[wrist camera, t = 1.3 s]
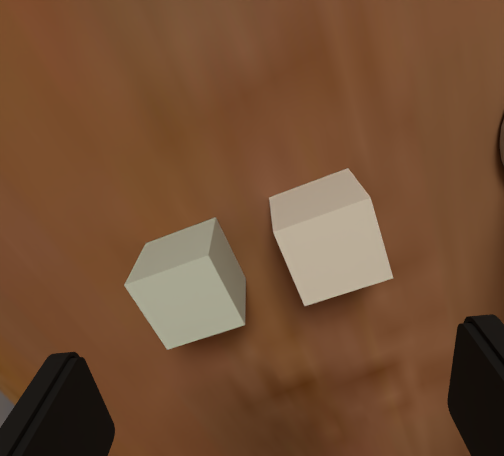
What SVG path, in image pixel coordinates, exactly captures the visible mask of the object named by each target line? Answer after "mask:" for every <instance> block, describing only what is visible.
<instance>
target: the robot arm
mask: <svg viewBox="0 0 504 456" xmlns="http://www.w3.org/2000/svg"><path fill="white" fill-rule="evenodd" d="M500 153H501V160H502V163H503V166H504V119H503V123H502V126H501V134H500ZM448 408H449V411H450V414H451V416H452V419H453V420H454V422H455V424H456V426H457V428H458V430H459V432H460V434H461V436H462V438H463V440H464V442H465V444H466V446H467V448H468V450H469V452H470V454H471V456H504V324H503V323H502V322H501V321H500V319H499V318H498V317H496V316H495V315H493V314H492V315H481V316H470V317H466V319H465V321H464V323H462V324H459V325H458V328H457V335H456V342H455V349H454V356H453V364H452V371H451V378H450V385H449V393H448ZM114 434H115V427H114V423H113V421H112V419H111V416H110V414H109V412H108V410H107V408H106V405H105V403H104V401H103V399H102V396H101V394H100V392H99V390H98V388H97V385H96V383H95V381H94V379H93V376H92V374H91V372H90V370H89V367H88V365H87V363H86V361H85V359H84V358H83V357H79V355H78V354H77V353H76V352H68V353H57V354H51V355H50V356H49V357H48V358H47V359H46V360H45V362H44V363H43V365H42V366H41V368H40V369H39V371H38V372H37V374H36V375H35V377H34V378H33V380H32V381H31V383H30V384H29V386H28V387H27V389H26V390H25V392H24V393H23V395H22V396H21V398H20V399H19V401H18V402H17V404H16V405H15V407H14V408H13V410H12V411H11V413H10V414H9V416H8V417H7V419H6V420H5V422H4V423H3V425H2V426H1V428H0V456H108V453H109V450H110V448H111V445H112V442H113V439H114Z"/></svg>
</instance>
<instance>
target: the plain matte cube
mask: <svg viewBox="0 0 504 456" xmlns="http://www.w3.org/2000/svg"><path fill="white" fill-rule="evenodd" d="M124 286H125V287H126V289H127V290H128V292H129V293H130V295H131V296H132V298H133V299H134V301H135V302H136V304H137V305H138V307H139V308H140V310H141V311H142V313H143V314H144V316H145V317H146V319H147V320H148V322H149V323H150V325H151V326H152V328H153V329H154V331H155V332H156V334H157V335H158V337H159V338H160V340H161V341H162V343H163V344H164V346H165V347H166V348H167V350H168V349H171V348H174V347H177V346H181V345H184V344H187V343H190V342H193V341H196V340H199V339H203V338H206V337H209V336H212V335H215V334H218V333H222V332H225V331H228V330H231V329H234V328H237V327H240V326H244V325H245V302H246V278H245V276H244V274H243V272H242V270H241V268H240V266H239V264H238V262H237V259H236V257H235V255H234V253H233V251H232V249H231V247H230V245H229V243H228V241H227V239H226V237H225V235H224V233H223V231H222V229H221V227H220V225H219V223H218V221H217V219H216V217H215V218H212V219H210V220H207V221H204V222H202V223H199V224H196V225H194V226H191V227H188V228H186V229H183V230H180V231H178V232H175V233H172V234H170V235H167V236H164V237H162V238H159V239H156V240H153V241H151V242H148V243H146V244H145V246H144V248H143V250H142V252H141V254H140V255H139V257H138V259H137V261H136V263H135V265H134V267H133V269H132V271H131V273H130V275H129V277H128V279H127V281H126V283H125V285H124Z"/></svg>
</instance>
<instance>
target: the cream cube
mask: <svg viewBox="0 0 504 456" xmlns="http://www.w3.org/2000/svg"><path fill="white" fill-rule="evenodd" d="M269 201H270V210H271V218H272V226H273V233H274V235H275V238H276V240H277V242H278V245H279V247H280V250H281V252H282V254H283V257H284V259H285V261H286V264H287V266H288V268H289V271H290V273H291V276H292V278H293V280H294V283H295V285H296V287H297V290H298V292H299V294H300V297H301V299H302V301H303V304H304V306H307V305H310V304H313V303H317V302H320V301H323V300H326V299H329V298H332V297H335V296H339V295H342V294H345V293H348V292H351V291H354V290H357V289H361V288H364V287H367V286H370V285H373V284H376V283H380V282H383V281H386V280H389V279H392V278H393V276H392V272H391V269H390V265H389V261H388V258H387V254H386V251H385V247H384V244H383V240H382V237H381V233H380V229H379V226H378V222H377V219H376V215H375V212H374V208H373V205H372V201H371V198H370V196H369V195H368V194H367V192H366V191H365V190H364V188H363V187H362V186H361V184H360V183H359V182H358V181H357V179H356V178H355V177H354V175H353V174H352V173H351V171H350V170H349V169H348V168H347V169H344V170H342V171H339V172H336V173H334V174H331V175H328V176H326V177H323V178H320V179H317V180H315V181H312V182H309V183H307V184H304V185H301V186H299V187H296V188H293V189H291V190H288V191H285V192H283V193H280V194H277V195H275V196H272V197H269Z"/></svg>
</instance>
